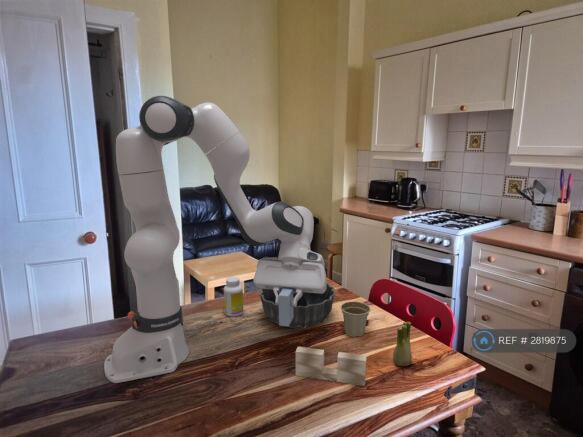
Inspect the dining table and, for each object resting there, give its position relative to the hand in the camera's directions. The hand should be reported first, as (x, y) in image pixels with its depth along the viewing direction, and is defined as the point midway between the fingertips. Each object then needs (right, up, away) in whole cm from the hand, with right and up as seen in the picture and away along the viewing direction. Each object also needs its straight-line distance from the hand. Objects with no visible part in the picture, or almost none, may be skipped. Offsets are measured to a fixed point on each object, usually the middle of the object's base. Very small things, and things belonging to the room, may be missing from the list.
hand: (285, 305), depth 100 cm
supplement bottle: (-19, -11, +35) cm, 41 cm away
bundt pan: (+4, -12, +32) cm, 35 cm away
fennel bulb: (+32, -17, +5) cm, 37 cm away
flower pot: (+22, -14, +22) cm, 34 cm away
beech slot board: (+12, -19, -2) cm, 22 cm away
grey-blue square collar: (0, -5, +2) cm, 5 cm away
